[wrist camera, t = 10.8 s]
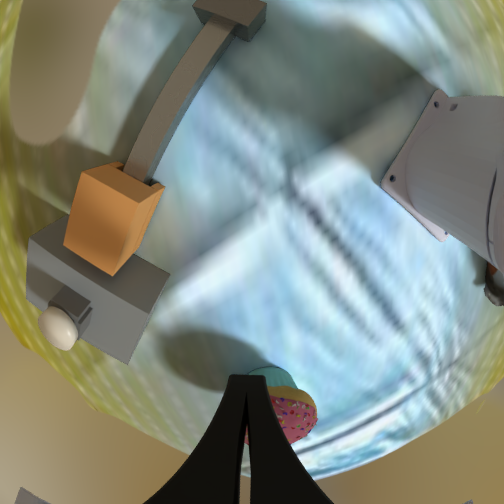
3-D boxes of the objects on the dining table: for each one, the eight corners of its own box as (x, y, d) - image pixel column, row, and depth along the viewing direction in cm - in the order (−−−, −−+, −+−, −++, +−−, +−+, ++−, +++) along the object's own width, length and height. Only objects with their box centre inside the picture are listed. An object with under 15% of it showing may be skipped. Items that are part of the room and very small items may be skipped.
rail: (217, 2, 12) (211, -17, 9) (265, 21, 12) (266, 3, 10) (92, 247, 19) (74, 263, 16) (128, 269, 20) (113, 287, 17)
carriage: (117, 161, 16) (81, 171, 12) (165, 186, 17) (138, 203, 13) (96, 222, 18) (63, 245, 14) (138, 247, 19) (112, 276, 15)
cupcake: (228, 349, 23) (215, 475, 12) (321, 354, 23) (348, 472, 12) (224, 401, 26) (215, 499, 15) (300, 405, 27) (311, 499, 16)
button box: (66, 213, 18) (10, 246, 12) (170, 274, 20) (139, 333, 14) (56, 269, 20) (12, 309, 14) (146, 324, 22) (119, 382, 16)
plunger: (60, 284, 14) (37, 306, 12) (92, 305, 15) (73, 331, 12) (57, 311, 15) (38, 334, 13) (87, 331, 16) (70, 357, 13)
